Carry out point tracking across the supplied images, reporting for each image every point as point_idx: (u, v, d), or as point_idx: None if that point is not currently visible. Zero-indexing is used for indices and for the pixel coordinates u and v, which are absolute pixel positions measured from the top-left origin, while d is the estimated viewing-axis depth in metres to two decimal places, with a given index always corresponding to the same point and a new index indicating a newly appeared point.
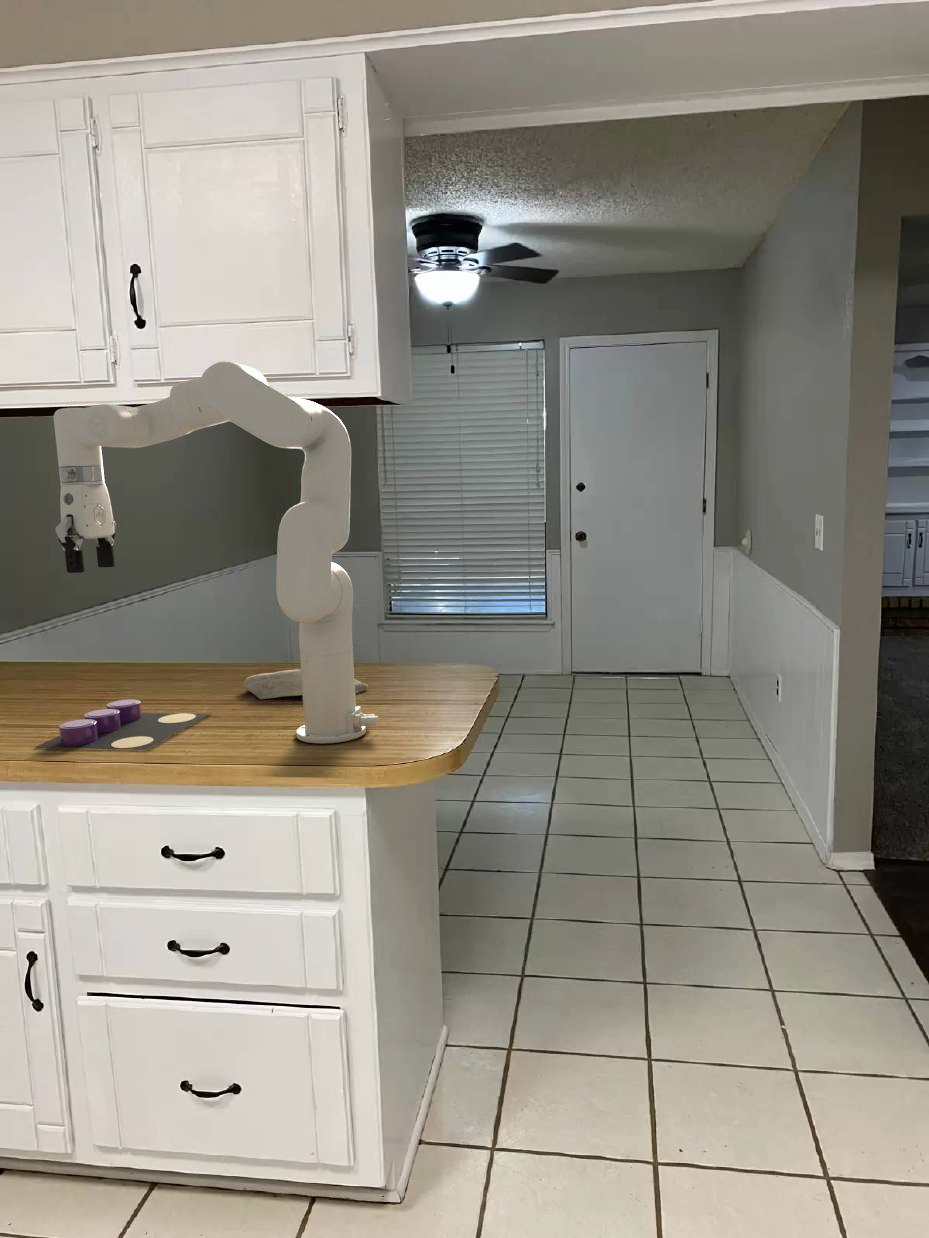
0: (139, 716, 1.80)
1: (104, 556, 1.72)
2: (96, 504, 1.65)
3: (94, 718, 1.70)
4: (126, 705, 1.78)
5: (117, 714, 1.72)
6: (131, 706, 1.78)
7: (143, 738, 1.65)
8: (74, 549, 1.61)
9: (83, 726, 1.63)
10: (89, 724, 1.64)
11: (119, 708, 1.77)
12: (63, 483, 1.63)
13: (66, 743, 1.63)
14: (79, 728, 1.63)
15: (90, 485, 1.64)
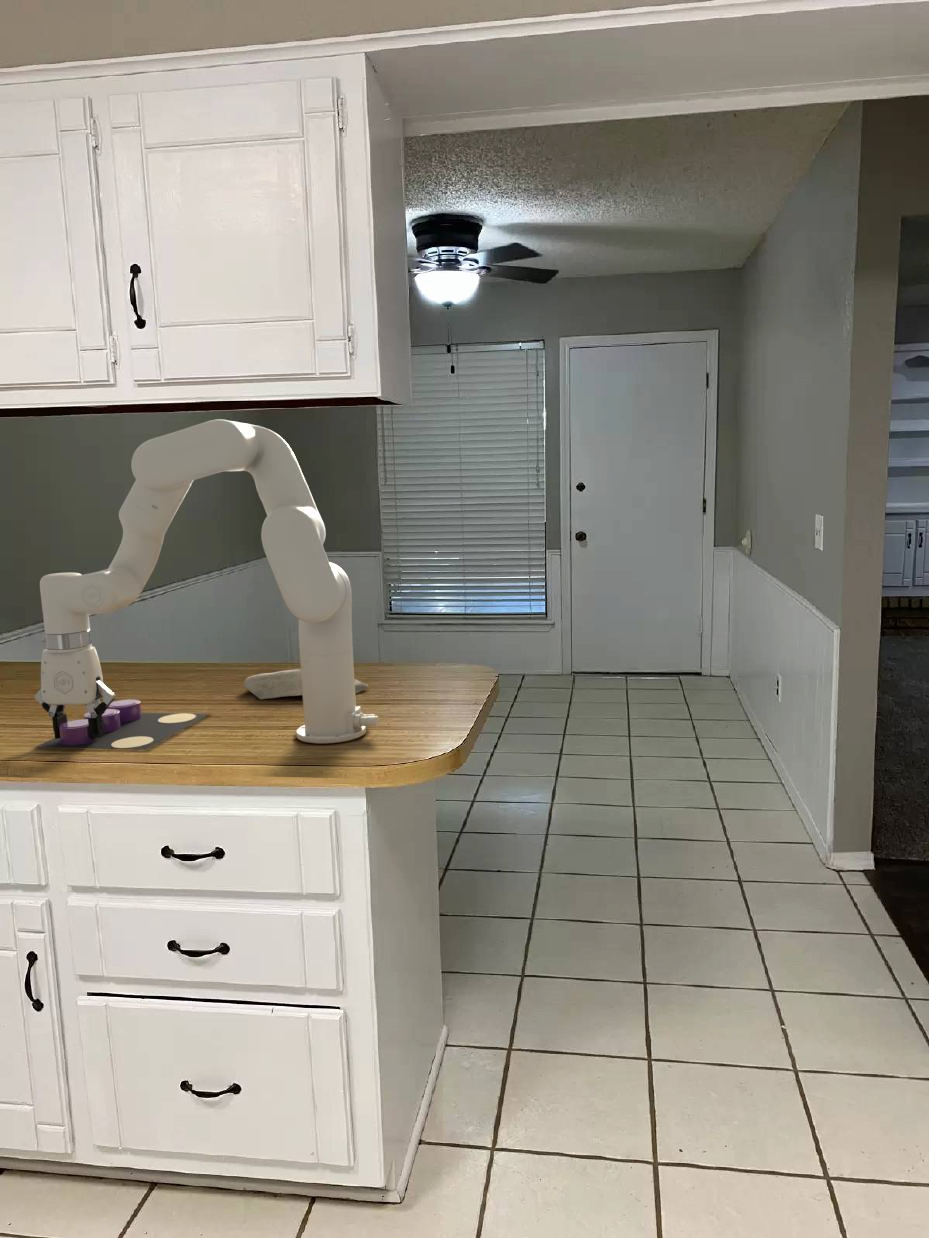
0: (139, 716, 1.80)
1: None
2: (58, 671, 1.61)
3: None
4: (126, 705, 1.78)
5: (117, 714, 1.72)
6: (131, 706, 1.78)
7: (143, 738, 1.65)
8: (50, 715, 1.65)
9: (83, 726, 1.63)
10: None
11: (119, 708, 1.77)
12: None
13: (66, 743, 1.63)
14: (79, 728, 1.63)
15: (52, 652, 1.61)
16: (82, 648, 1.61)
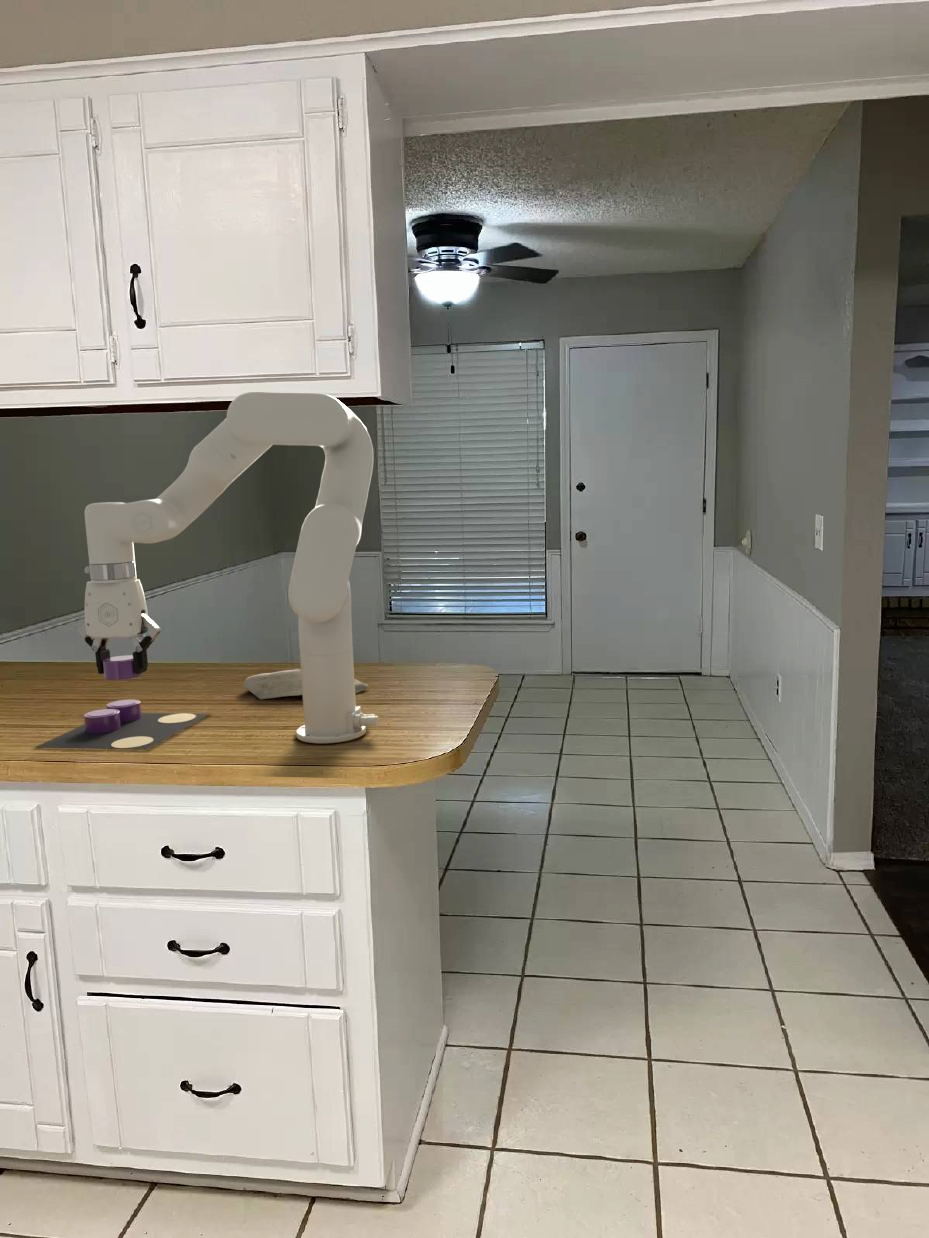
0: (139, 716, 1.80)
1: None
2: (103, 603, 1.57)
3: (94, 718, 1.70)
4: (126, 705, 1.78)
5: (117, 714, 1.72)
6: (131, 706, 1.78)
7: (143, 738, 1.65)
8: (93, 650, 1.61)
9: (127, 660, 1.59)
10: None
11: (119, 708, 1.77)
12: None
13: (110, 677, 1.58)
14: (123, 662, 1.58)
15: (97, 583, 1.57)
16: (127, 579, 1.57)
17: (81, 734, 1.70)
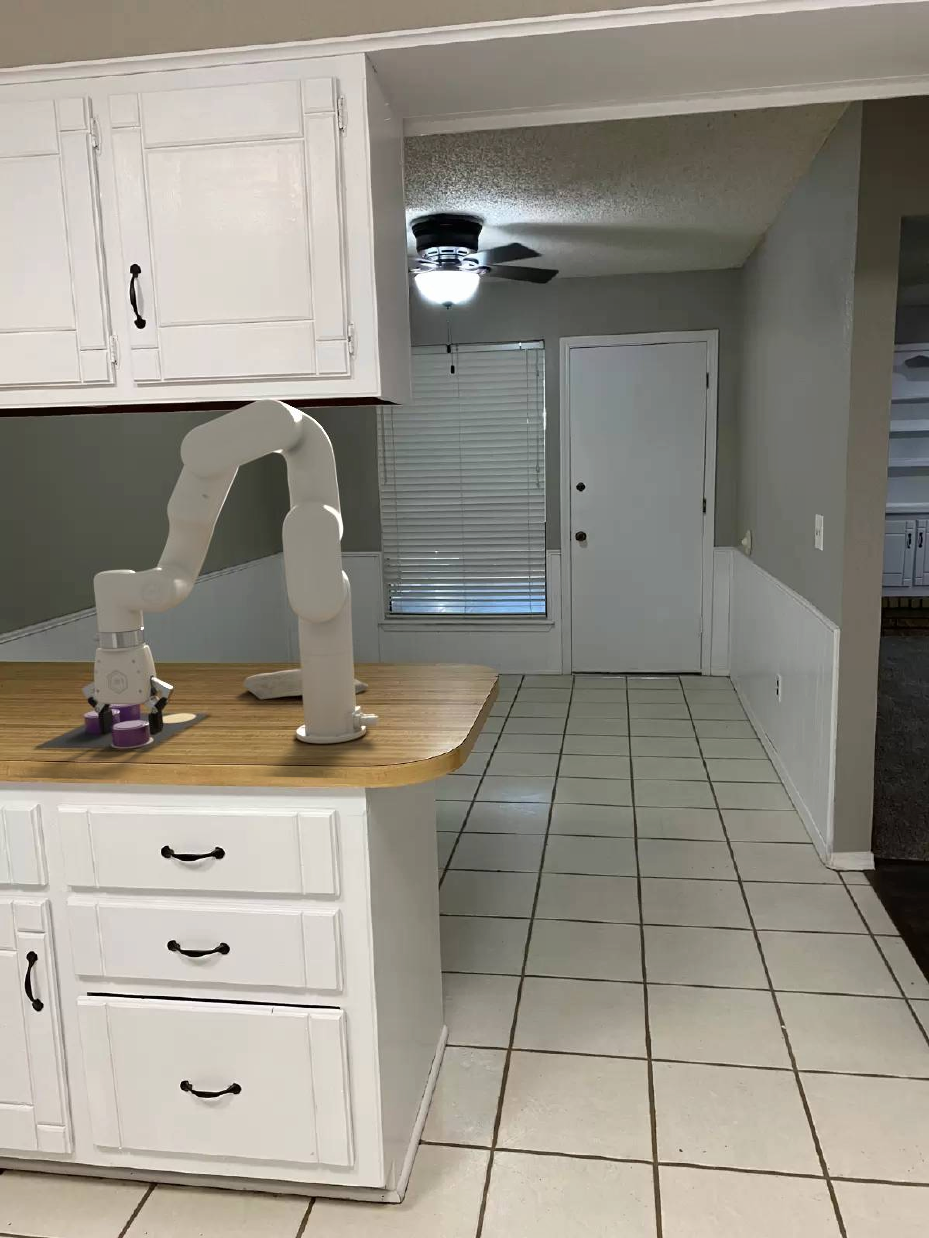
0: (139, 716, 1.80)
1: None
2: (112, 670, 1.58)
3: (94, 718, 1.70)
4: (126, 705, 1.78)
5: (117, 714, 1.72)
6: (131, 706, 1.78)
7: None
8: (96, 710, 1.62)
9: (136, 727, 1.61)
10: (142, 725, 1.62)
11: (119, 708, 1.77)
12: None
13: (119, 744, 1.60)
14: (132, 729, 1.60)
15: (106, 651, 1.58)
16: (136, 647, 1.58)
17: (81, 734, 1.70)
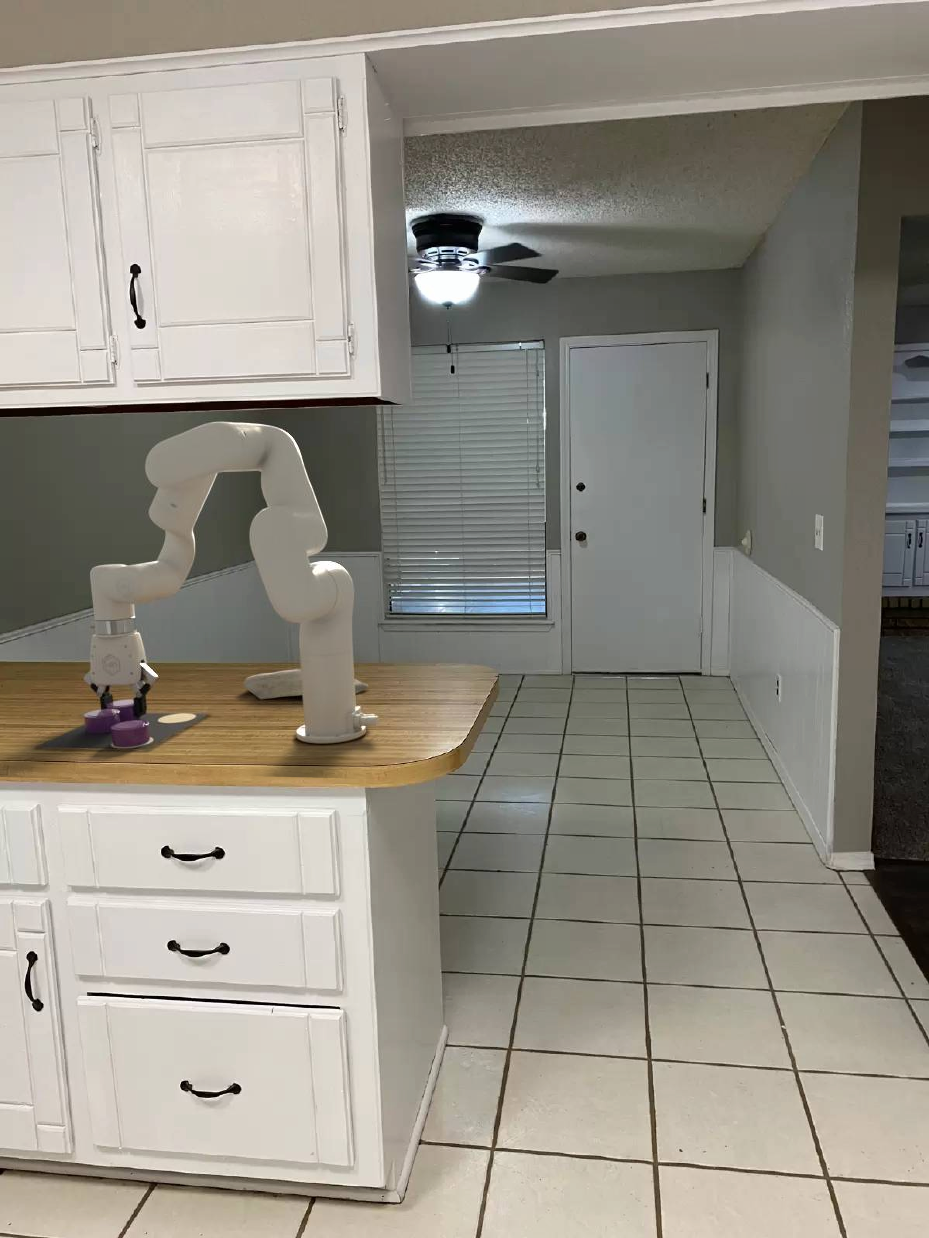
0: None
1: None
2: (106, 655, 1.76)
3: (94, 718, 1.70)
4: (126, 705, 1.78)
5: (117, 714, 1.72)
6: (131, 706, 1.78)
7: None
8: (98, 695, 1.80)
9: (136, 727, 1.61)
10: (142, 725, 1.62)
11: (119, 708, 1.77)
12: None
13: (119, 744, 1.60)
14: (132, 729, 1.60)
15: (101, 637, 1.76)
16: (128, 633, 1.76)
17: (81, 734, 1.70)
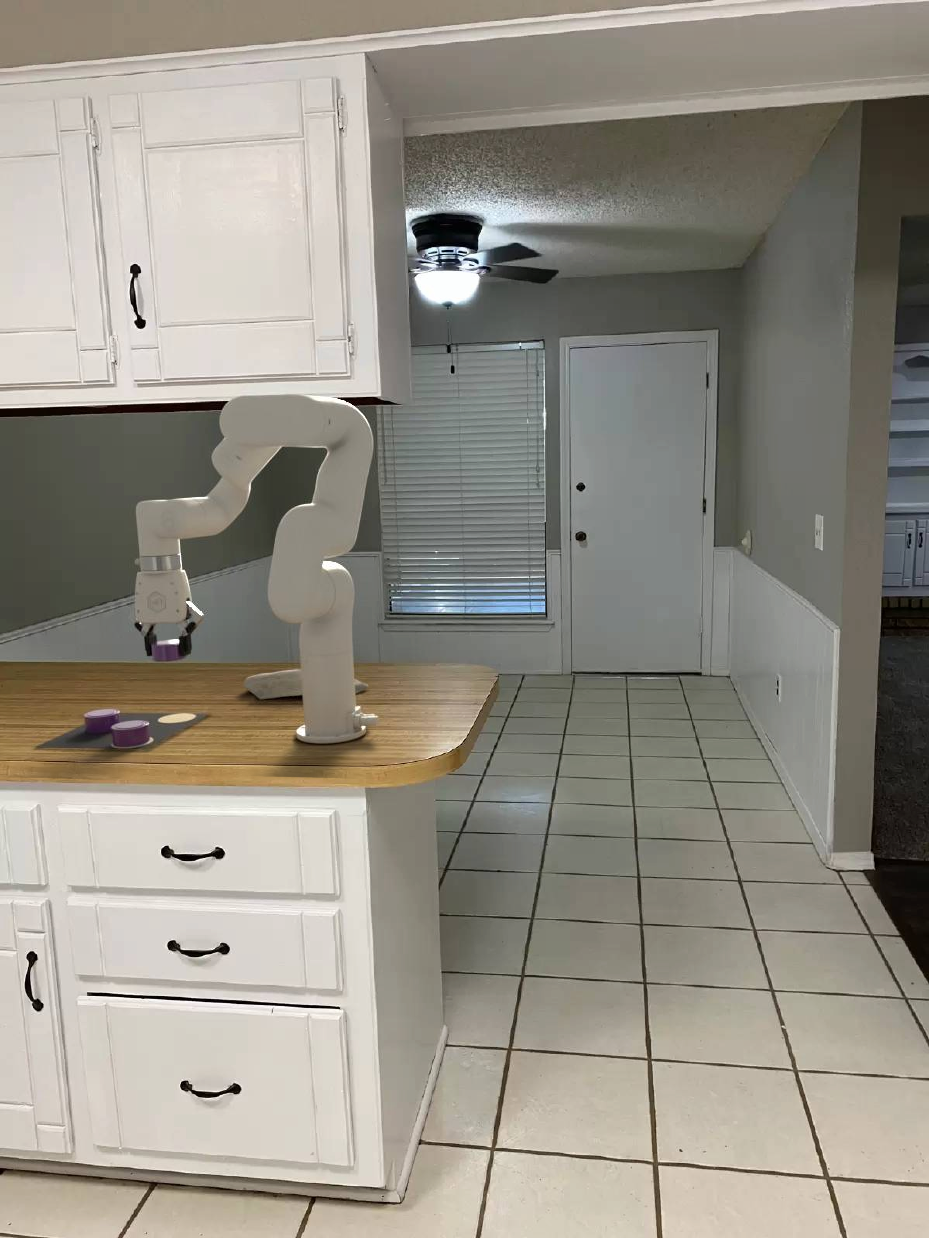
0: (184, 656, 1.77)
1: None
2: (152, 592, 1.73)
3: (94, 718, 1.70)
4: (171, 644, 1.75)
5: (117, 714, 1.72)
6: (176, 645, 1.75)
7: None
8: (142, 635, 1.76)
9: (136, 727, 1.61)
10: (142, 725, 1.62)
11: (164, 646, 1.74)
12: None
13: (119, 744, 1.60)
14: (132, 729, 1.60)
15: (147, 574, 1.72)
16: (174, 570, 1.73)
17: (81, 734, 1.70)
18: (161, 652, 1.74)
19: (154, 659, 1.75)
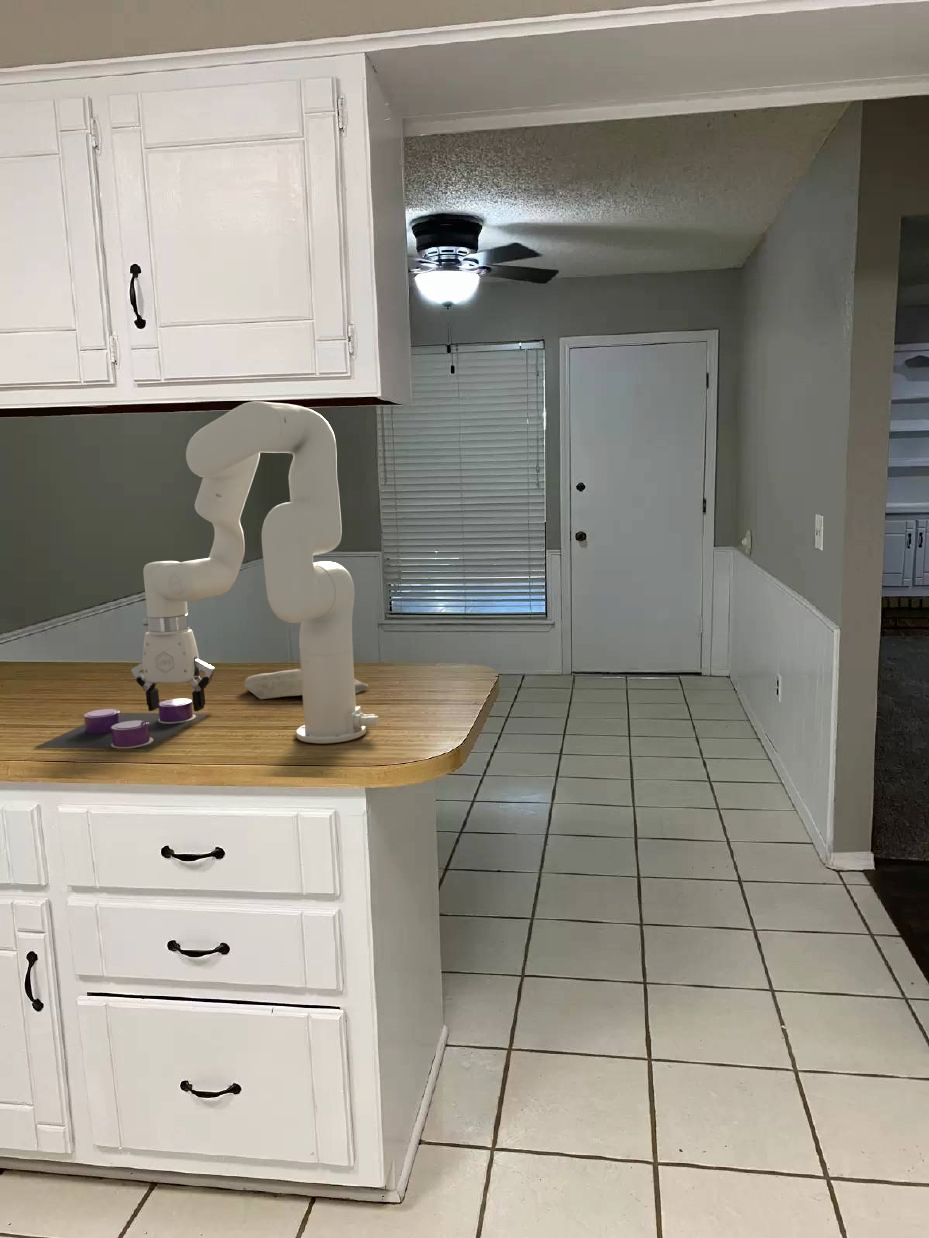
0: (191, 715, 1.78)
1: None
2: (160, 652, 1.74)
3: (94, 718, 1.70)
4: (178, 704, 1.76)
5: (117, 714, 1.72)
6: (183, 705, 1.77)
7: None
8: (144, 689, 1.78)
9: (136, 727, 1.61)
10: (142, 725, 1.62)
11: (172, 707, 1.75)
12: None
13: (119, 744, 1.60)
14: (132, 729, 1.60)
15: (154, 634, 1.74)
16: (182, 631, 1.74)
17: (81, 734, 1.70)
18: (168, 712, 1.76)
19: (161, 719, 1.77)
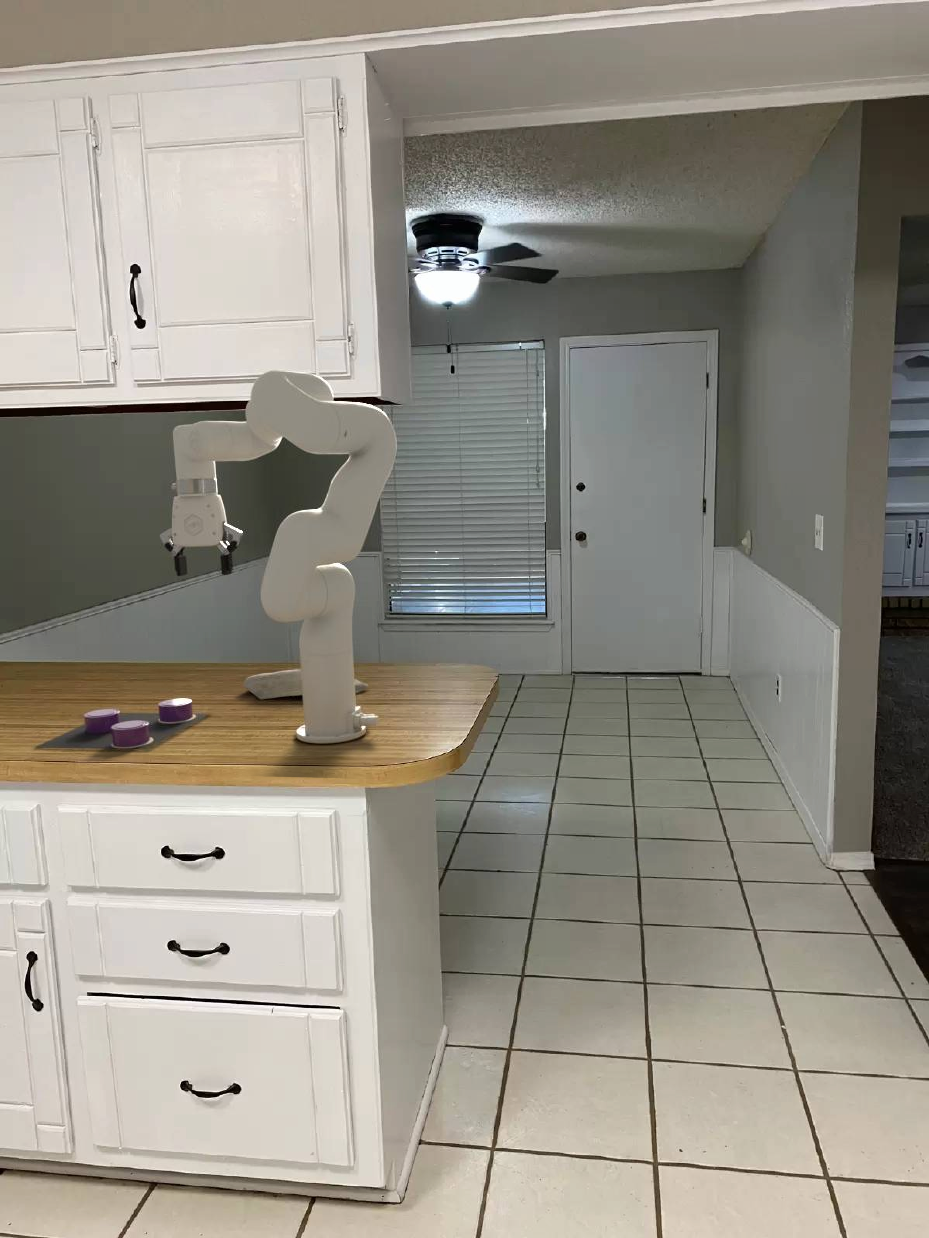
0: (191, 715, 1.78)
1: None
2: (189, 515, 1.76)
3: (94, 718, 1.70)
4: (178, 704, 1.76)
5: (117, 714, 1.72)
6: (183, 705, 1.77)
7: None
8: (172, 554, 1.80)
9: (136, 727, 1.61)
10: (142, 725, 1.62)
11: (172, 707, 1.75)
12: None
13: (119, 744, 1.60)
14: (132, 729, 1.60)
15: (184, 497, 1.76)
16: (211, 493, 1.76)
17: (81, 734, 1.70)
18: (168, 712, 1.76)
19: (161, 719, 1.77)
